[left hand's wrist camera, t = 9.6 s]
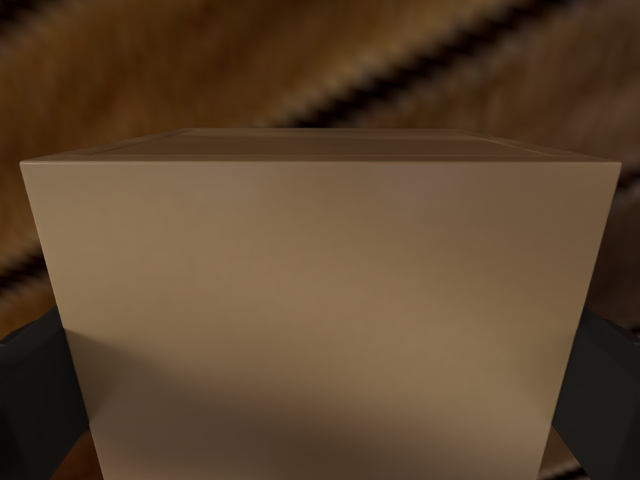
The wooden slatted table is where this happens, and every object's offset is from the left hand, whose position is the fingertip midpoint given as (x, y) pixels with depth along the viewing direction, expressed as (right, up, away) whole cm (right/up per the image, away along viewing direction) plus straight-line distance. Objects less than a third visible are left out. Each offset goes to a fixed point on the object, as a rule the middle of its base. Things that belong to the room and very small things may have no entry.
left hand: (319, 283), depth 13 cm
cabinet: (0, -2, +5) cm, 5 cm away
